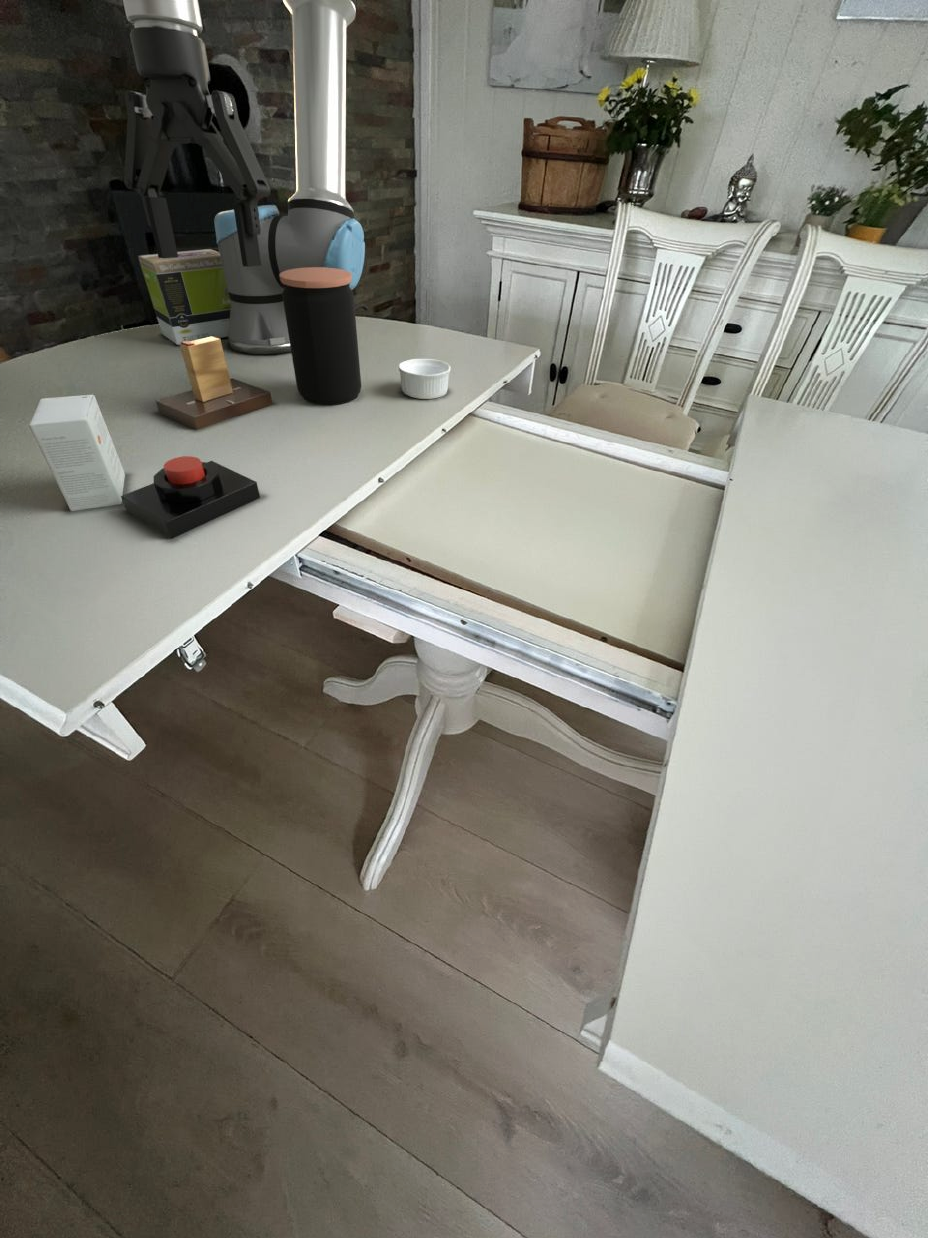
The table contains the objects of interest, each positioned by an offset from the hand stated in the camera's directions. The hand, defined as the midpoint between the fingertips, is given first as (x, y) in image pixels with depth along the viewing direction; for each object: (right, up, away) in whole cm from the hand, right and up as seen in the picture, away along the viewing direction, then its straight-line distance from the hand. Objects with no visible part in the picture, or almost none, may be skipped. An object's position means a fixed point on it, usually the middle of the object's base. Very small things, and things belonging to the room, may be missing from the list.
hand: (209, 261), depth 74 cm
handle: (-6, -11, +15) cm, 20 cm away
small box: (-11, -32, -5) cm, 34 cm away
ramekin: (+27, -7, +25) cm, 37 cm away
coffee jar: (+11, -9, +23) cm, 27 cm away
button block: (+1, -33, -6) cm, 34 cm away
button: (+1, -30, -9) cm, 32 cm away
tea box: (-22, +14, +47) cm, 54 cm away
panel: (-6, -13, +17) cm, 22 cm away
